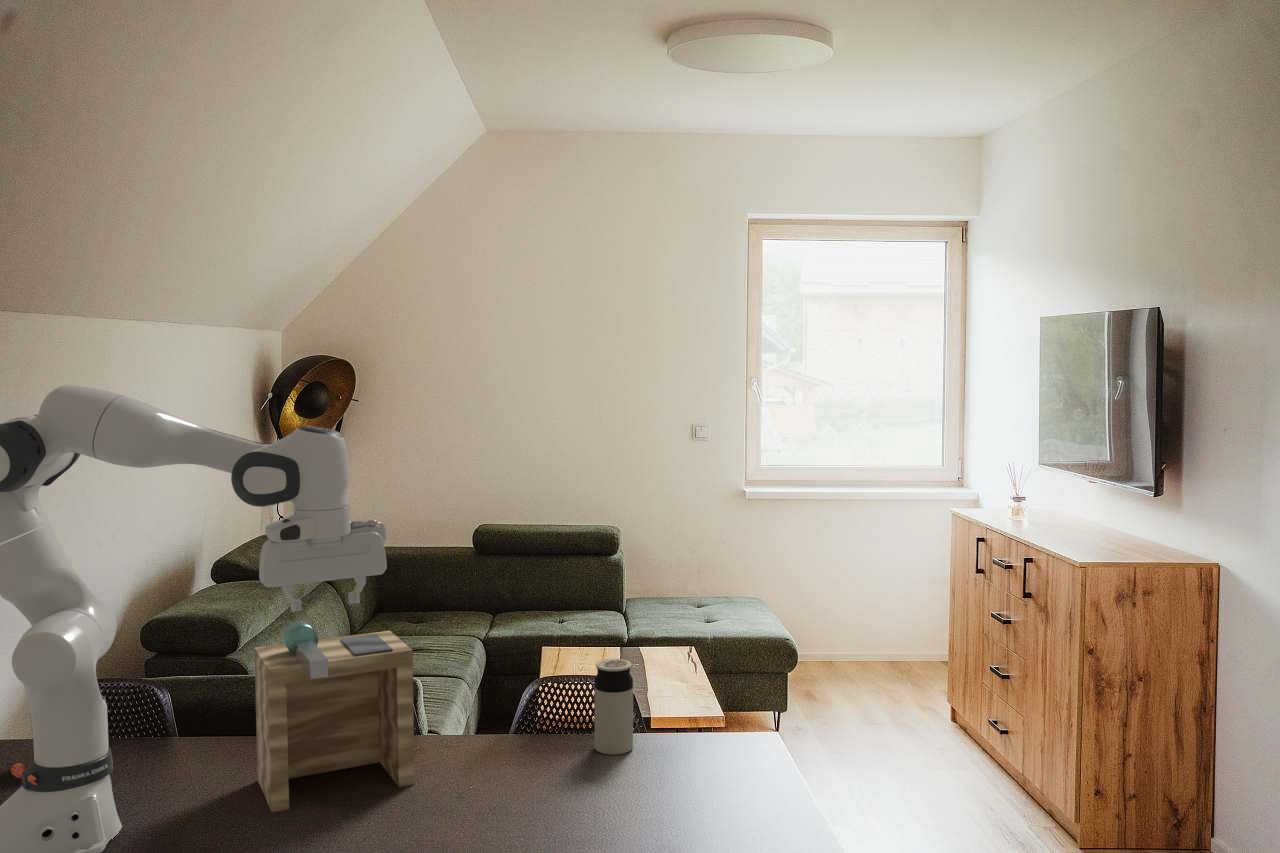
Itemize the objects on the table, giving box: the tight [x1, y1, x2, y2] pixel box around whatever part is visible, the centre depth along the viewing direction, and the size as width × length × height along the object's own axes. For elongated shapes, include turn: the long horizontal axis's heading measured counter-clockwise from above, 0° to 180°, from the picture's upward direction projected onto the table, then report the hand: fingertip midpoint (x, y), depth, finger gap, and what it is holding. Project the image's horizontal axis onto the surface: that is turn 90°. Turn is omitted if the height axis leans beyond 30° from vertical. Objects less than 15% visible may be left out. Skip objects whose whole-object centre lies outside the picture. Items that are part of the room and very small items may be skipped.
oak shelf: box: [254, 630, 415, 813], centre depth 199 cm, size 16×26×26 cm, turn 119°
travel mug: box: [593, 658, 634, 756], centre depth 216 cm, size 8×8×18 cm
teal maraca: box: [281, 620, 328, 679], centre depth 189 cm, size 20×6×6 cm, turn 29°
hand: (325, 607), depth 173 cm, fingers open, 8 cm apart
